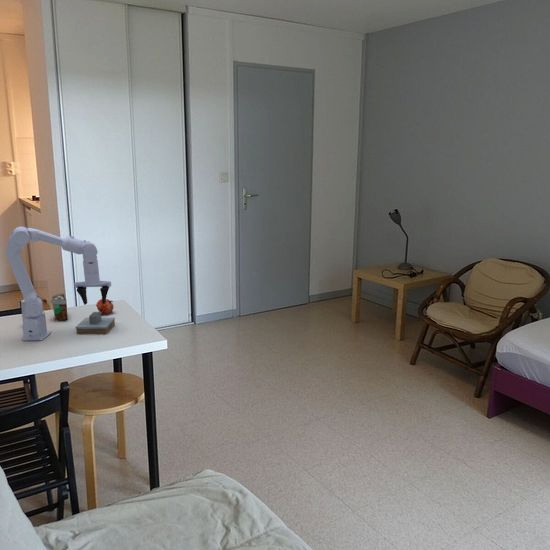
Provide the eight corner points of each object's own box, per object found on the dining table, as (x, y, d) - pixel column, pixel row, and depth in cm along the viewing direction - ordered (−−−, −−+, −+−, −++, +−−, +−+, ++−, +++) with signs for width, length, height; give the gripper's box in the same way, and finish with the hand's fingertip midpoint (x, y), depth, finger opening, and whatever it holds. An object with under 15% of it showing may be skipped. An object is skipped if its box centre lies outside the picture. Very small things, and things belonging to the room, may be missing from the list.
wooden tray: (106, 334, 215) (105, 328, 214) (76, 334, 215) (76, 328, 214) (114, 324, 227) (114, 319, 226) (86, 324, 227) (86, 319, 226)
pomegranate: (95, 320, 240) (109, 309, 236) (88, 306, 241) (101, 295, 237) (107, 317, 246) (120, 306, 242) (99, 304, 247) (113, 293, 243)
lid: (106, 329, 214) (105, 318, 213) (75, 329, 214) (74, 318, 213) (115, 320, 226) (114, 309, 225) (86, 320, 226) (85, 309, 225)
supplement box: (36, 327, 224) (34, 301, 221) (22, 327, 224) (19, 301, 221) (42, 322, 229) (39, 297, 227) (28, 322, 229) (26, 297, 227)
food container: (51, 315, 239) (49, 294, 237) (66, 313, 242) (64, 292, 240) (52, 323, 228) (50, 301, 226) (68, 321, 231) (66, 299, 229)
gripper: (112, 269, 220) (115, 300, 223) (77, 270, 220) (80, 301, 223) (107, 273, 213) (110, 305, 216) (70, 274, 213) (74, 306, 216)
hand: (94, 303), depth 219 cm, fingers open, 7 cm apart
